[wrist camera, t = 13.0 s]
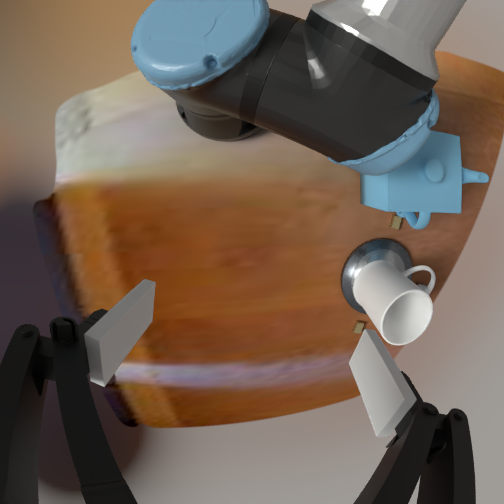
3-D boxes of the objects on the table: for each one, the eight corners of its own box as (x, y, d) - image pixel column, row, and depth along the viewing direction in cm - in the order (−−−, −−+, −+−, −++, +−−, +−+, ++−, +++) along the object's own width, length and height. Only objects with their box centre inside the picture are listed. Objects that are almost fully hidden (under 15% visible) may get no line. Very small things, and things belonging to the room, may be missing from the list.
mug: (401, 238, 39) (442, 259, 28) (419, 278, 41) (457, 307, 29) (343, 279, 42) (368, 315, 30) (366, 317, 43) (391, 357, 32)
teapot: (357, 219, 40) (392, 236, 28) (353, 119, 36) (387, 98, 24) (446, 220, 39) (493, 235, 27) (444, 132, 35) (492, 124, 23)
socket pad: (361, 204, 40) (363, 205, 38) (441, 232, 40) (445, 234, 39) (322, 325, 45) (323, 328, 44) (401, 337, 45) (403, 340, 44)
